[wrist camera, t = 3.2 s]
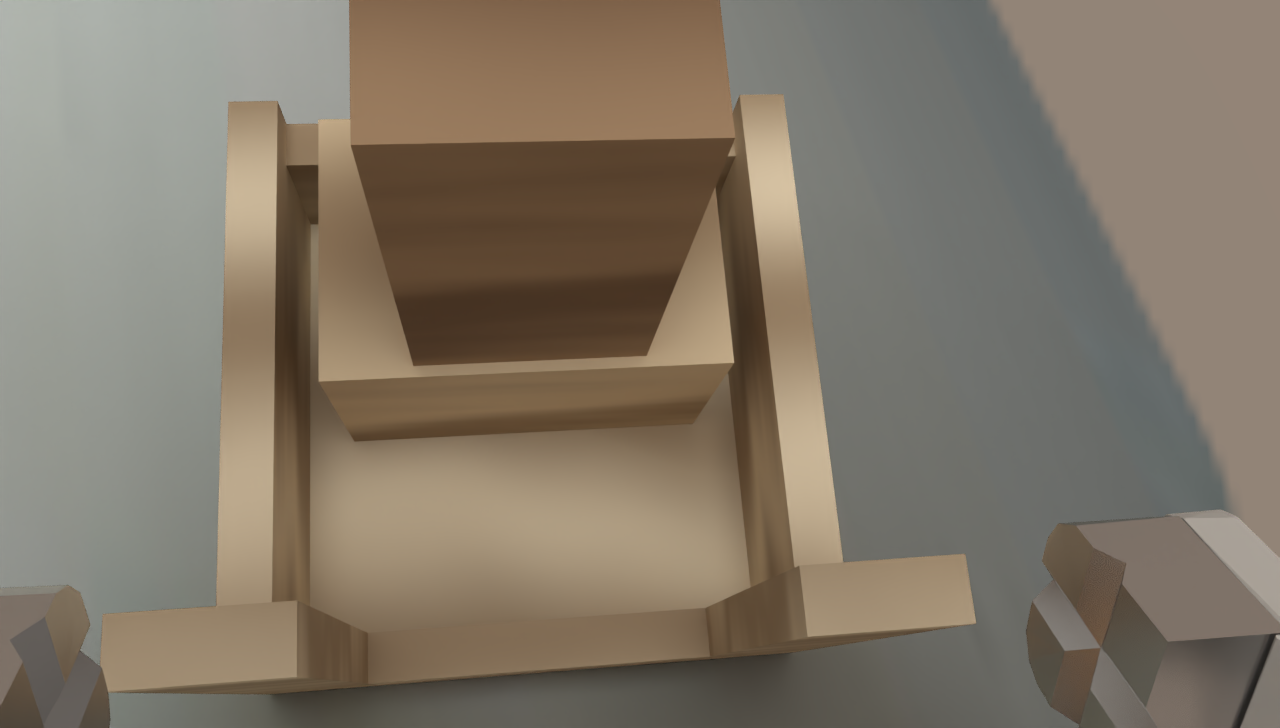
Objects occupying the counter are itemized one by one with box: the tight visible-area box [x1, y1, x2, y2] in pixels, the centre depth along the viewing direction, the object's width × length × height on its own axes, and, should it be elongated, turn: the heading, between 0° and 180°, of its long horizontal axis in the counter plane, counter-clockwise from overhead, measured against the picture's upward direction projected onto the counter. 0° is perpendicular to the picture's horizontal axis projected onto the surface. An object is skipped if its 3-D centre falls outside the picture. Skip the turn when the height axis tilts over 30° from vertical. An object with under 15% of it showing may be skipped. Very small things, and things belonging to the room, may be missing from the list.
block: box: [349, 0, 735, 366], centre depth 18 cm, size 4×4×9 cm
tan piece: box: [100, 94, 976, 694], centre depth 22 cm, size 12×12×11 cm
